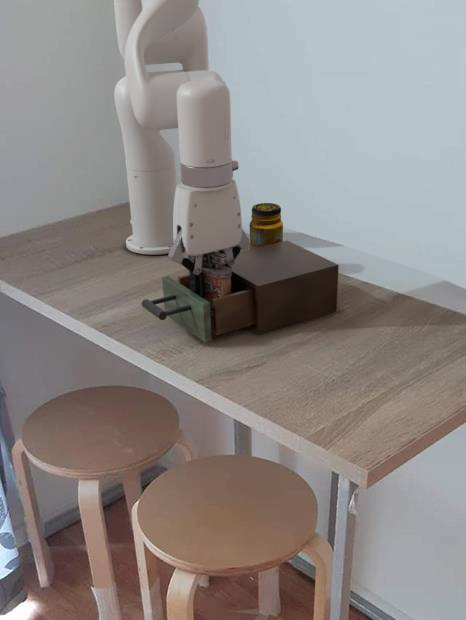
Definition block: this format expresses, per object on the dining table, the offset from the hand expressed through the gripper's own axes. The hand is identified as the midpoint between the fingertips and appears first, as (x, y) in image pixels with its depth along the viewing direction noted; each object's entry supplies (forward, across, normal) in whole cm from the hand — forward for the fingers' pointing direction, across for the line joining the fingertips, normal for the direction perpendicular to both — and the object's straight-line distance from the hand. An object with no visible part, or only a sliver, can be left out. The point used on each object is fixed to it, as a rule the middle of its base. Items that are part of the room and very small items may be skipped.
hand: (211, 291), depth 131 cm
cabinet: (+6, -12, 0) cm, 13 cm away
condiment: (+6, -19, -15) cm, 25 cm away
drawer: (+5, +1, 0) cm, 5 cm away
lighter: (+3, 0, 0) cm, 3 cm away
